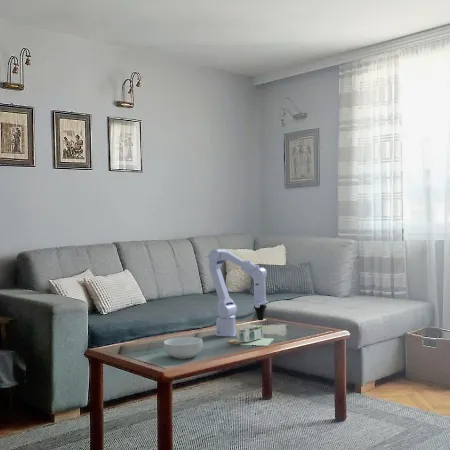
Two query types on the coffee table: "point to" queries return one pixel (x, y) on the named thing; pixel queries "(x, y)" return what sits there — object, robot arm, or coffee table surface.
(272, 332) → the coffee table surface
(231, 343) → the cork coaster
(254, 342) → the mat
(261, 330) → the syrup box
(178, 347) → the cereal bowl
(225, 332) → the robot arm
